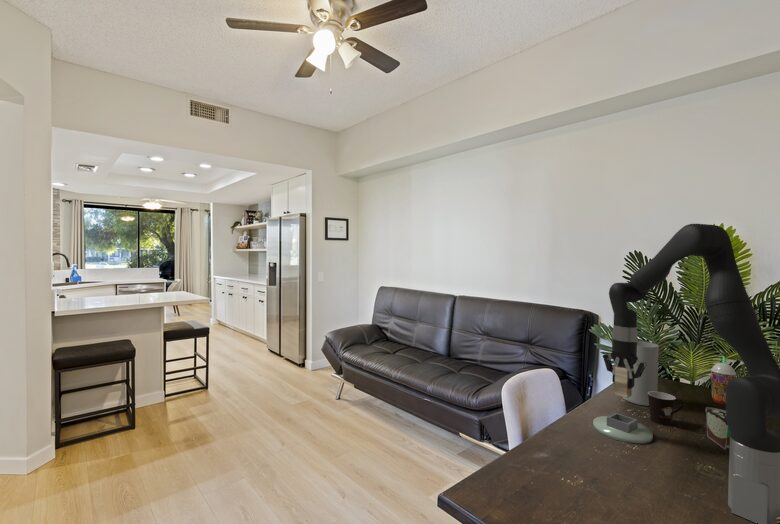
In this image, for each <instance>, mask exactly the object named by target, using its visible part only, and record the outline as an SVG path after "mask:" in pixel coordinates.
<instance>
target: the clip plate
mask: <svg viewBox="0 0 780 524" xmlns="http://www.w3.org/2000/svg"><path fill="white" fill-rule="evenodd" d="M592 421H593V422H592V423H593V424H592V425H593V428H594V430H596V431H597V432H598V433H600V434H601V435H603V436H605V437H608V438H610V439H611V440H612V439H613V440H616V441H620V442H623V443H628V444H629V443H630V444H638V445H639V444H648V443H651V442H652V441H653V437H654V435H653V431H652V430H651V429H650V428H649V427H647V426H646V425H644V424H643V423H640V422H639V420H638V419H636V418H633V417H629V416H627V415H624V414H621V413H618V412H613V414H610V415H602V416H601V415H600V416H596V417H595V418H594V419H593V420H592Z"/></svg>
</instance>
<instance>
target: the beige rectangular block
mask: <svg viewBox="0 0 780 524" xmlns="http://www.w3.org/2000/svg"><path fill="white" fill-rule="evenodd" d="M630 369H631V368H630ZM628 378H629V376H628V370H627V369H626V368H624V367H620V366H618V367H615V385H614V394H613V395H615V396H618V397H621V398H623V397H624V398H628V397H630V396H632V388H631V389H628ZM624 398H623V399H624Z"/></svg>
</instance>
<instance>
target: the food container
mask: <svg viewBox="0 0 780 524" xmlns="http://www.w3.org/2000/svg"><path fill="white" fill-rule="evenodd" d="M705 413H706V415H705V416H706V436H707V438H709V439H710V440H711V441H713V442H714V443H716V445H718V446H720V448H722V449H723V450H725V451H730V429H729V427H728V424H727V420H726V410H724V409H720V408H715V407H708V406H706V407H705Z"/></svg>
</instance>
